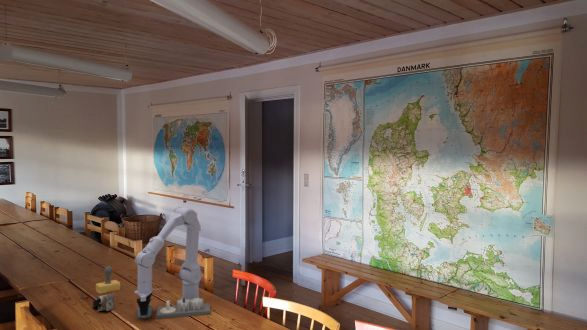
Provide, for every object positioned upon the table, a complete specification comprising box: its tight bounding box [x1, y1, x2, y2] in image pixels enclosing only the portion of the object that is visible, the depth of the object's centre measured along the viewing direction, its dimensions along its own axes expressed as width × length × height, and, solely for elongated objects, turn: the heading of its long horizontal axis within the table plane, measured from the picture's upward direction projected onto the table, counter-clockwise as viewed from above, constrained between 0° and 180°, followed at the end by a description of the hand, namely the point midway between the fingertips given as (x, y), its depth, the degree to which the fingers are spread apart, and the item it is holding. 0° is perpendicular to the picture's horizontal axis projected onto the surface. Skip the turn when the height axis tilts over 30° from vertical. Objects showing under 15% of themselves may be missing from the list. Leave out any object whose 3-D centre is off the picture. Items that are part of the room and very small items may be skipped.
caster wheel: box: [92, 292, 115, 312], centre depth 187 cm, size 7×11×10 cm
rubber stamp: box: [95, 266, 121, 295], centre depth 209 cm, size 10×6×12 cm, turn 133°
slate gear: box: [136, 304, 153, 319], centre depth 180 cm, size 6×6×4 cm
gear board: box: [155, 297, 211, 320], centre depth 184 cm, size 9×22×7 cm, turn 105°
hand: (144, 312), depth 180 cm, fingers closed on slate gear, 6 cm apart
